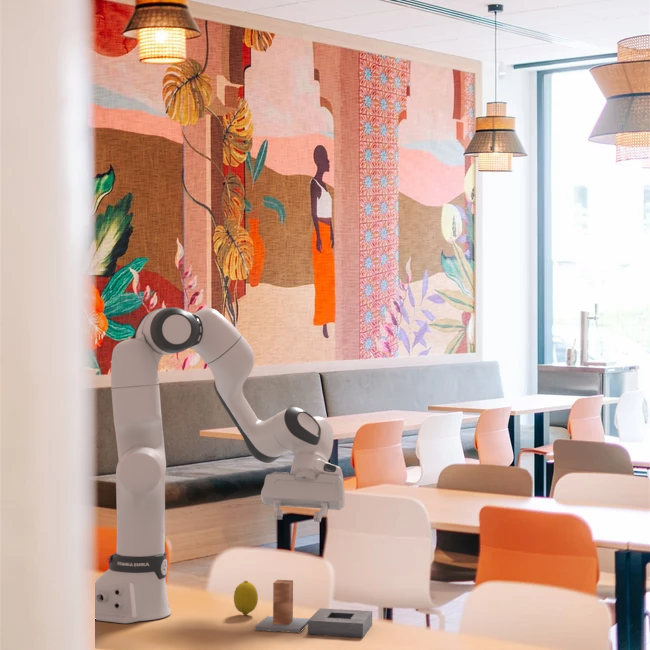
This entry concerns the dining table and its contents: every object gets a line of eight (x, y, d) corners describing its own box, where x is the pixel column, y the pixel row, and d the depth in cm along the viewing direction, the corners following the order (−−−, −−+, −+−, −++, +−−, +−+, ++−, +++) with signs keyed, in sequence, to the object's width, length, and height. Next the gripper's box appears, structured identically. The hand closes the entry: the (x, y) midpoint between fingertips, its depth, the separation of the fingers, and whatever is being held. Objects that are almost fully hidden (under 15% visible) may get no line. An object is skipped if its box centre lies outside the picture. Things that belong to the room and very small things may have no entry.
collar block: (307, 634, 228) (307, 620, 228) (319, 621, 240) (319, 608, 240) (362, 637, 226) (362, 623, 226) (372, 624, 238) (372, 611, 238)
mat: (255, 630, 232) (255, 626, 232) (267, 619, 242) (267, 616, 242) (299, 632, 230) (299, 629, 230) (310, 622, 239) (310, 618, 240)
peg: (273, 623, 234) (273, 582, 235) (277, 620, 238) (277, 579, 238) (288, 624, 234) (289, 583, 234) (292, 621, 237) (293, 580, 237)
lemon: (254, 618, 242) (254, 583, 243) (230, 617, 244) (231, 582, 244) (260, 613, 248) (260, 578, 248) (237, 612, 249) (237, 577, 249)
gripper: (265, 463, 260) (252, 507, 250) (347, 467, 256) (337, 513, 246) (269, 479, 264) (257, 524, 254) (349, 484, 260) (340, 530, 250)
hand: (297, 519), depth 250 cm, fingers open, 8 cm apart
